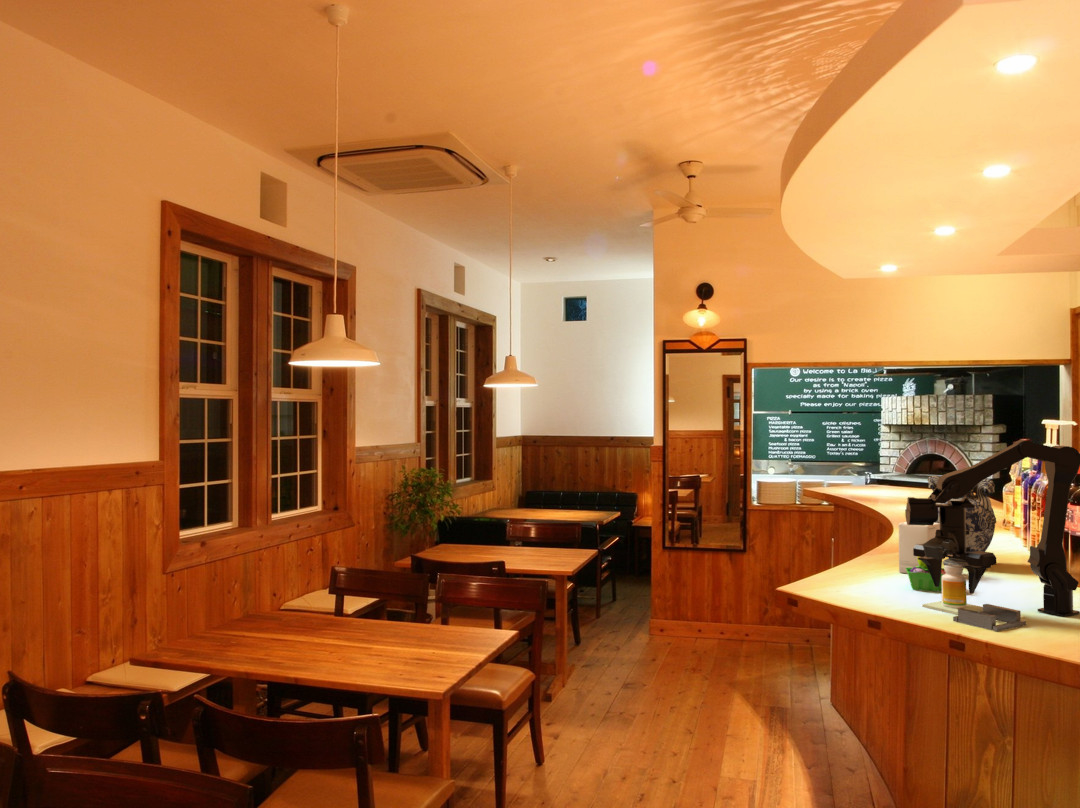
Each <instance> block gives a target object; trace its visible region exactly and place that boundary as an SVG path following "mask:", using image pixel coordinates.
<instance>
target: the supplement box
mask: <svg viewBox="0 0 1080 808" xmlns="http://www.w3.org/2000/svg"><path fill="white" fill-rule="evenodd" d="M938 529H940V523H934V524H933V525H907V522H906V521H904V522H899V523H898V572H899V573H900V574H901V573H902V574H906V575H908V573H907V571H906V568H913V567H916V566H919V564H918V560H917V558H918V556H913V548H914V546H915V545H916V544H924V543H926V542H927V541H929V540H930V539H932V538H935V535H936V530H938Z"/></svg>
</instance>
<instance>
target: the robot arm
mask: <svg viewBox="0 0 1080 808" xmlns="http://www.w3.org/2000/svg"><path fill="white" fill-rule="evenodd" d="M1026 458H1029V459H1032V460H1036V461H1041V462H1044V470H1045V473H1046V474H1045V475H1046V478H1047V491H1046V499H1045V504H1044V505H1045V506H1044V513H1043V522H1042V529H1041V537H1040V540H1039V542H1038V544H1037V546H1033V545H1029V546H1030V547H1029V558H1028V559H1027V563H1028V564H1029V567H1030V570H1031V572H1032V573H1033V574H1034V575H1036V576H1037V577H1038V578H1039V581H1040V583H1041V584H1044V585H1043V587H1042V588H1043V594H1042V599H1043V601H1042V602H1043V607H1040V608H1037V611H1038V612H1042V613H1045V614H1051V615H1055V616H1060V617H1069V616H1074V615H1078V614H1080V610H1075V609H1074V591H1077V590H1078V589H1077V588H1078V586H1079V581H1078V580H1077V579H1076V578H1075V577H1074V576H1072V575H1071V573H1070V572H1068V566H1067V557H1066V553H1065V548H1064V536H1065V531H1066V530H1065V529H1066V522H1067V515H1068V505H1069V499H1070V498H1069V497H1070V491H1071V486H1072V483H1073V481H1074V480H1075V478H1076V476H1077V475H1078V473H1079V470H1080V452H1079V450H1078V449H1077V448H1075V447H1073V446H1067V445H1053V446H1049V445H1045V444H1041V443H1036V442H1032V441H1031V440H1026V439H1019V440H1017V441H1015V442H1013V444H1011V445H1009V446H1007V447H1005V448H1003V449H1002V450H999V451H998V452H996V453H994V454H992V455H990V456H988V457H986V458H984V459H982V460H981V461H979V462H976V463H974V464H973V465H971V466H968V467H964V468H961V469H957V470H954V471H951V472H948V473H945V474H942V475H941V476H938V477H939V479H938V481H937V487H936V489H934V491H933V490H932V492H931V493H930V495H929V496H928V497H924V498H923V497H911V496H908V497H907V498H906V499H907V502H906V504H905V505H906V508H905V513H904V514H905V522H907V525H933V524H934V522H936V521H938V508H939V519H940V529H938V530H936V535H935V538H932V539H930V540H929V541H927V542H926V543H924V544H916V545H915V546H914V548H913V556H918V559H919V560H921V561H922V562H923V563H925V564H926V566H927V568H928V570H929V572H930V575H931V577H932V580H933V582H934V585H935V587H939V585H940V579H941V568H943V559H946V558H947V559H949V558H955V559H961V560H966V562H967V563H968V564H969V565H968V566H965V567H966V568H965V569H966V571H967V572H968V574H967V575H968V577H967V578H968V594H971V595H972V594H974V593H975V592H976V589H977V587H978V585H979V584H980V581H981V579H982V577H983V576H984V575H985V573H986V571H987V569H990V568H992V566H996V565H997V557H996V555H995V553H994V552H990V551H985V552H984V551H975V552H968V551H970V547H966V535H969V530H966V514H965V508H974V507H975V505H973V504H972V503H971V502H970V501H969V500H968V498H966V497H964V498H963V499H962V500H961V501H959V500H951V499H959V498H962V497H963V496H964V495H966V494H967V493H968V492H970V491H971V490H972V489H973V490H975V488H976V485H977V484H978V483H980V482H981V481H983V480H984V479H985V480H987V479H989V478H990V477H992V476H993V475H995V474H998V473H999V472H1001V471H1004V470H1006V469H1007V468H1009V467H1011V466H1013V465H1015V464H1017V463H1018V462H1021V461H1023V460H1024V459H1026ZM946 502H948V503H947V504H936V503H946ZM966 552H968V553H966ZM957 555H960V556H957Z"/></svg>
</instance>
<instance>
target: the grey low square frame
mask: <svg viewBox="0 0 1080 808" xmlns="http://www.w3.org/2000/svg"><path fill="white" fill-rule="evenodd" d="M982 607H983V611H980V612H977V611H972V610H968V609H963V608H961V609H958V615H955V616H953V617H952V620H953V622H955V623H960V624H964V625H969V626H972V627H977V628H981V629H983V630H984V629H985V630H989V631H993V632H1001V631H1005V630H1012V629H1015V628H1016V627H1017V628H1020V627H1021V628H1022V627H1026V626H1027V620H1024V619H1021V618H1022V613H1021V610H1020V609H1019V610H1018V609H1015V608H1014V609H1013V608H1008V607H1004V606H1000V605H994V604H989V603H984V604H982ZM997 622H1001V623H1000V624H997Z"/></svg>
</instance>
